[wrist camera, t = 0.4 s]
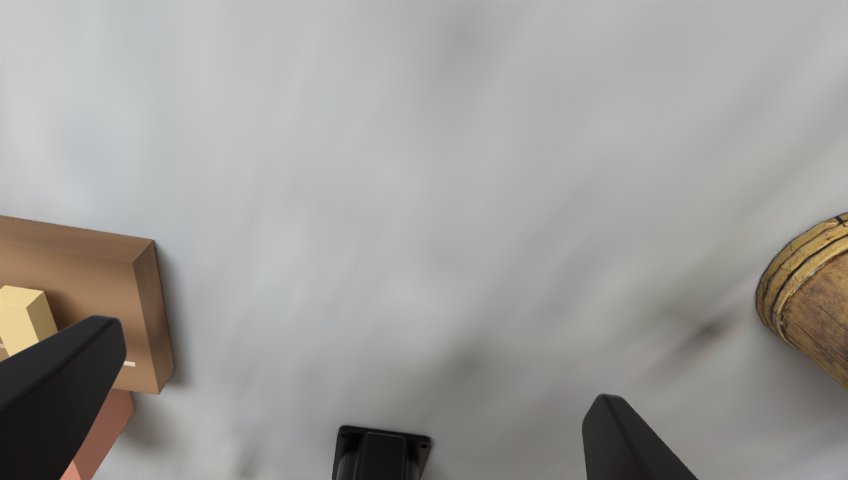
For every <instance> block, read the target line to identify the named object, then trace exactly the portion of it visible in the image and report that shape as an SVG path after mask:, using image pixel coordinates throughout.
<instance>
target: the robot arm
mask: <svg viewBox="0 0 848 480" xmlns="http://www.w3.org/2000/svg"><path fill="white" fill-rule="evenodd" d="M126 355H127V346H126V342H125V337H124V332H123V327H122V323H121V321H120V320H119V319H118V318H116V317H112V316H105V315H98V314H96V315H91V316H89V317H87V318H85V319H83V320H81V321H79V322H77V323H75V324H73V325H71V326H69V327H67V328H65V329H63V330H61V331H59V332H57V333H55V334H53V335H51V336H49V337H48V338H46V339H44V340H42V341H40V342H38V343H36V344H34V345H32V346H30V347H28V348H26V349H24V350H22V351H20V352H18V353H16V354H14V355H12V356H10V357H8V358H6V359H4V360H2V361H0V480H60V479H61V478H62V476H63V474H64V473H65V471H66V470H67V468H68V467H69V465H70V463H71V462H72V460H73V459H74V457H75V456H76V454H77V452H78V451H79V449H80V447H81V446H82V444H83V443H84V441H85V439H86V437H87V435H88V433H89V432H90V430H91V428H92V426H93V424H94V422H95V420H96V418H97V416H98V414H99V412H100V410H101V408H102V406H103V404H104V402H105V400H106V398H107V396H108V394H109V392H110V390H111V388H112V386H113V384H114V382H115V380H116V378H117V376H118V374H119V372H120V370H121V368H122V366H123V364H124V362H125V359H126ZM582 435H583V444H584V453H585V463H586V472H587V480H698V479H697V478H696V477H695V476H694V475H693V473H692V472H691V471H690V470H689V469H688V468H687V467H686V466H685V465H684V464H683V463H682V461H681V460H680V459H679V458H678V457H677V456H676V455H675V454H674V453H673V452H672V451H671V449H670V448H669V447H668V446H667V445H666V444H665V443H664V442H663V441H662V440H661V439H660V438H659V436H658V435H657V434H656V433H655V432H654V431H653V430H652V429H651V428H650V427H649V426H648V424H647V423H646V422H645V421H644V420H643V419H642V418H641V417H640V416H639V415H638V414H637V412H636V411H635V410H634V409H633V408H632V407H631V406H630V405H629V404H628V403H627V402H626V401H625V400H624V399H623V398H622V397H620V396H617V395H610V394H604V393H603V394H600V395H598V396H597V397H596V399H595V401H594V402H593V404H592V406H591V407H590V409H589V411H588V412H587V414H586V416H585V417H584V420H583V424H582ZM430 448H431V440H430V438H428V437H424V436H416V435H409V434H401V433H394V432H386V431H379V430H372V429H364V428H357V427H349V426H342V427H340V428H339V430H338V435H337V443H336V450H335V458H334V465H333V473H332V480H420V479H421V476H422V473H423V470H424V467H425V464H426V461H427V458H428V455H429V451H430Z"/></svg>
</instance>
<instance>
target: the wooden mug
mask: <svg viewBox="0 0 848 480" xmlns="http://www.w3.org/2000/svg"><path fill="white" fill-rule="evenodd" d="M757 310H758V312H759V314H760V317H761V319H762V321H763V323H765V324H766V325H767V326H768V327H769V328H771V329H772V330H773V331H774V332H775V333H777V334H778V335H779V336H780V337H782V338H783V339H784V340H785V341H786V342H788V343H789V344H790V345H791V346H793V347H794V348H795V349H798V350H800V351H803V352H804V353H805V354H806V355H807V356H808V357H810V358H811V359H812V360H813V361H814V362H815V363H816V364H817V365H819V366H820V367H821V368H822V369H823V370H824V371H825V372H827V373H828V374H829V375H830V376H831V377H832V378H833V379H835V380H836V381H837V382H838V383H839V384H840V385H841V386H843V387H844V388H845V389H846V390H847V391H848V212H847V213H844V214H841V215H839V216H836V217H834V218H832V219H829V220H827V221H825V222H822V223H820V224H819V225H817V226H815V227H814V228H812V229H811V230H809V231H807V232H806V233H804V234H803V235H801V236H799V237H798V238H796V239H794V240H793V241H792V242H791V243H790V244H789V245H788V246H787V247H786V248H785V249H784V250H783V251H782V252H781V253H780V254H779V255H778V256H777V257H776V258H775V259H774V260H773V262H772V263H771V265H770V266H769V268H768V269H767V271H766V272H765V274H764V275H763V278H762V280H761V283H760V285H759V288H758V291H757Z"/></svg>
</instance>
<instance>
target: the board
mask: <svg viewBox="0 0 848 480" xmlns="http://www.w3.org/2000/svg"><path fill="white" fill-rule="evenodd" d="M5 285H6V286H13V287H19V288H26V289H33V290H40V291H44V293H45V296H46V299H47V302H48V305H49V308H50V311H51V313H52V316H53V319H54V322H55V325H56V328H57V331H58V332H59V331H61V330H63V329H65V328H67V327H69V326H71V325H73V324H75V323H77V322H79V321H81V320H83V319H85V318H87V317H89V316H91V315H96V314H98V315H105V316H112V317H116V318H118V319H119V320H120V321H121V323H122V327H123V332H124V337H125V342H126V346H127V355H126V359H125V362H124V364H123V366H122V368H121V370H120V372H119V374H118V376H117V378H116V380H115V382H114V384H113V386H112V388H113V389H120V390H127V391H135V392H142V393H150V394H157V395H159V394H160V393H161V391H162V389H163V388H164V386H165V384H166V383H167V381H168V379H169V378H170V376H171V374H172V373H173V371H174V369H175V367H174V361H173V355H172V349H171V343H170V337H169V331H168V325H167V319H166V313H165V307H164V301H163V295H162V289H161V283H160V277H159V271H158V265H157V259H156V253H155V247H154V241H153V240H150V239H144V238H138V237H132V236H125V235H119V234H113V233H106V232H100V231H94V230H88V229H81V228H75V227H69V226H63V225H56V224H50V223H44V222H38V221H31V220H25V219H19V218H12V217H6V216H0V289H1V288H2V287H3V286H5ZM8 357H9V355H8V352H7V350H6V348H5V346H4V343H3V341H2V339H1V337H0V361H2V360H4V359H6V358H8Z"/></svg>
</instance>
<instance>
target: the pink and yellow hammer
mask: <svg viewBox="0 0 848 480" xmlns="http://www.w3.org/2000/svg"><path fill="white" fill-rule="evenodd" d="M57 332H58V331H57V328H56V325H55V322H54V319H53V316H52V313H51V311H50V308H49V305H48V302H47V299H46V296H45V293H44V291H40V290H33V289H26V288H19V287H13V286H6V285H5V286H3V287H2V288H1V289H0V337H1V339H2V341H3V343H4V346H5V348H6V350H7V352H8V355H9V357H10V356H12V355H14V354H16V353H18V352H20V351H22V350H24V349H26V348H28V347H30V346H32V345H34V344H36V343H38V342H40V341H42V340H44V339H46V338H48V337H49V336H51V335H53V334H55V333H57ZM134 410H135V409H134V405H133V401H132V397H131V393H130V391H127V390H120V389H113V388H111V390H110V392H109V394H108V396H107V398H106V400H105V402H104V404H103V406H102V408H101V410H100V412H99V414H98V416H97V418H96V420H95V422H94V424H93V426H92V428H91V430H90V432H89V433H88V435H87V437H86V439H85V441H84V443H83V444H82V446H81V447H80V449H79V451H78V452H77V454H76V456H75V457H74V459H73V460H72V462H71V463H70V465H69V467H68V468H67V470H66V471H65V473H64V474H63V476H62V478H61V479H60V480H91V479H92V477H93V476H94V474H95V472H96V471H97V469H98V468H99V466H100V464H101V463H102V461H103V460H104V458H105V456H106V455H107V453H108V452H109V450H110V449H111V447H112V445H113V444H114V442H115V441H116V439H117V437H118V436H119V434H120V433H121V431H122V429H123V428H124V426H125V425H126V423H127V422H128V420H129V418H130V417H131V415H132V414H133V412H134Z"/></svg>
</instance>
